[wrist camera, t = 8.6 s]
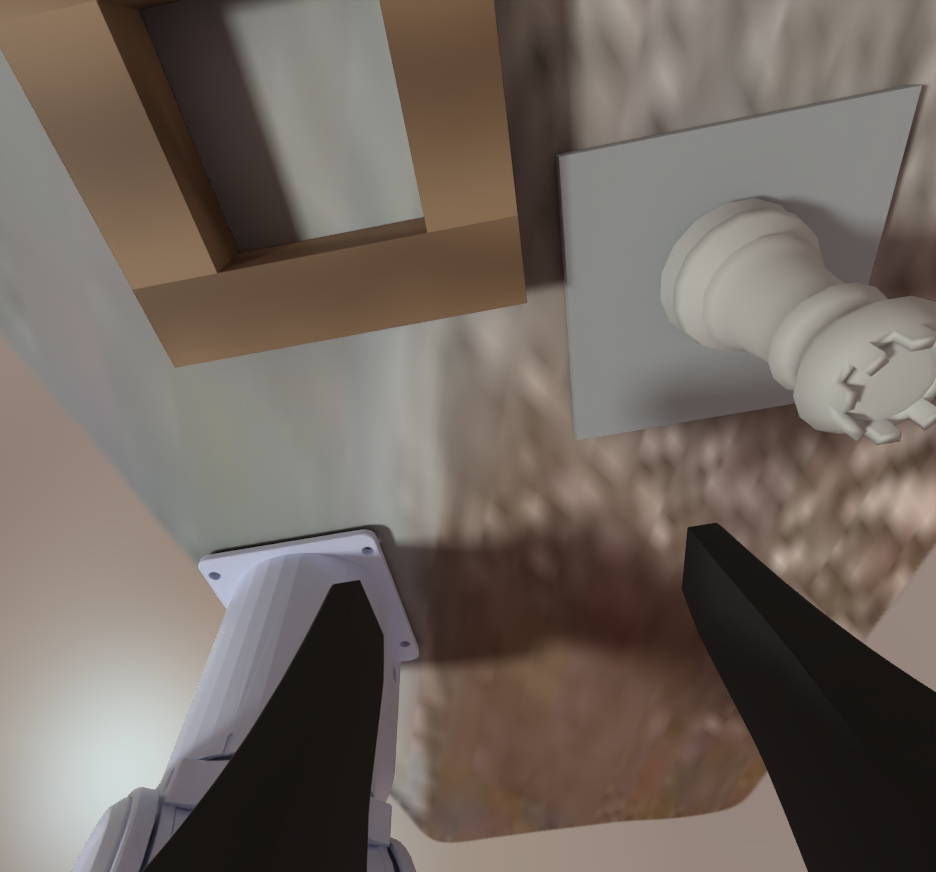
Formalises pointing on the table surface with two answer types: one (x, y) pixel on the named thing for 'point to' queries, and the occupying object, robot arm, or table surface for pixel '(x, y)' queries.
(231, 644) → the robot arm
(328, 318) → the square wooden frame
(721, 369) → the slate mat
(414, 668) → the table surface
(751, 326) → the rook chess piece
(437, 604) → the table surface
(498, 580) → the table surface
